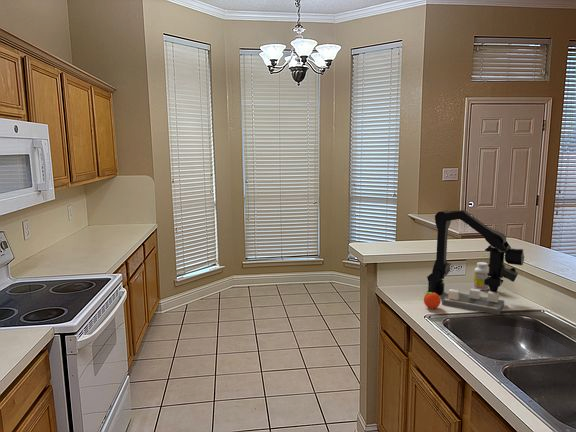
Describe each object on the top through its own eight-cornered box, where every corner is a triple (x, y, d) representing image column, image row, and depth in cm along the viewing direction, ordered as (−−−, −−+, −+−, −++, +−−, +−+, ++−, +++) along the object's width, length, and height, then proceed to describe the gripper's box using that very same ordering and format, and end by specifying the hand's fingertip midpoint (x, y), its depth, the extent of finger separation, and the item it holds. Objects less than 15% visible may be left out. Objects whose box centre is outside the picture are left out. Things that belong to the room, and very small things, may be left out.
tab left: (448, 298, 192) (448, 290, 192) (450, 296, 195) (450, 288, 194) (457, 300, 190) (458, 292, 189) (459, 298, 192) (459, 290, 192)
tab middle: (469, 297, 193) (469, 290, 192) (470, 295, 195) (471, 288, 195) (478, 299, 191) (479, 291, 190) (480, 297, 193) (480, 289, 192)
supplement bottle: (475, 285, 217) (476, 260, 216) (489, 288, 214) (491, 262, 212) (472, 289, 212) (473, 263, 210) (486, 291, 208) (488, 265, 206)
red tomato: (419, 309, 186) (420, 293, 185) (422, 304, 192) (422, 288, 191) (439, 311, 183) (439, 295, 182) (441, 306, 189) (441, 290, 188)
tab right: (487, 300, 189) (487, 293, 188) (488, 299, 191) (489, 291, 190) (497, 302, 186) (497, 294, 186) (498, 300, 189) (499, 292, 188)
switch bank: (441, 304, 191) (442, 299, 191) (450, 295, 203) (450, 291, 203) (498, 314, 179) (499, 309, 178) (504, 304, 190) (504, 300, 190)
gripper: (514, 269, 177) (511, 305, 179) (519, 259, 192) (517, 293, 194) (484, 265, 183) (482, 301, 185) (492, 256, 198) (490, 289, 200)
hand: (494, 296), depth 191 cm, fingers closed
